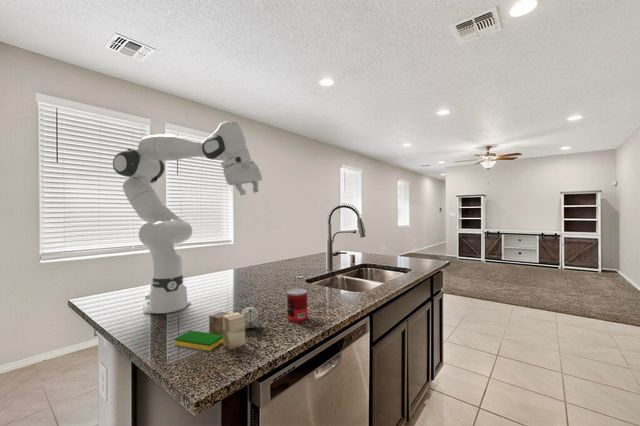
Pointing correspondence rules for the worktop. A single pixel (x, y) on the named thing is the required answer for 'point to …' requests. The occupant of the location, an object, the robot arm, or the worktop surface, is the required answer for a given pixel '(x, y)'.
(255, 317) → the game die
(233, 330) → the maple block
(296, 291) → the canned food
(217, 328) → the walnut block
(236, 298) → the worktop surface
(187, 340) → the dish sponge
